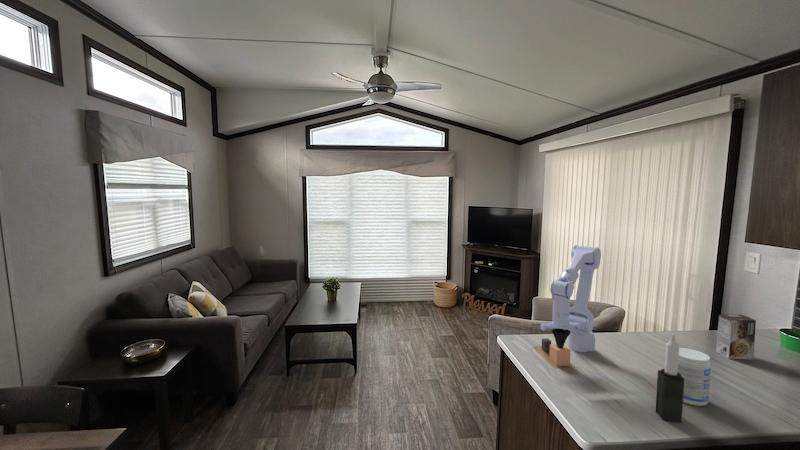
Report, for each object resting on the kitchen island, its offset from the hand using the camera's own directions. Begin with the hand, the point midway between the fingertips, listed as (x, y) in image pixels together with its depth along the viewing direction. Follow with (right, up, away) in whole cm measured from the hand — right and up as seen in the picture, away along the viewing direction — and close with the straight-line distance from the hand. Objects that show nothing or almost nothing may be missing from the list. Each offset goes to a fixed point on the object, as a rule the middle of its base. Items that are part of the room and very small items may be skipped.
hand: (559, 347), depth 129 cm
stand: (0, -7, +6) cm, 9 cm away
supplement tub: (+32, -9, -20) cm, 39 cm away
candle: (+18, -10, -29) cm, 36 cm away
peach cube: (0, -6, 0) cm, 6 cm away
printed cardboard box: (+74, -6, +8) cm, 74 cm away
